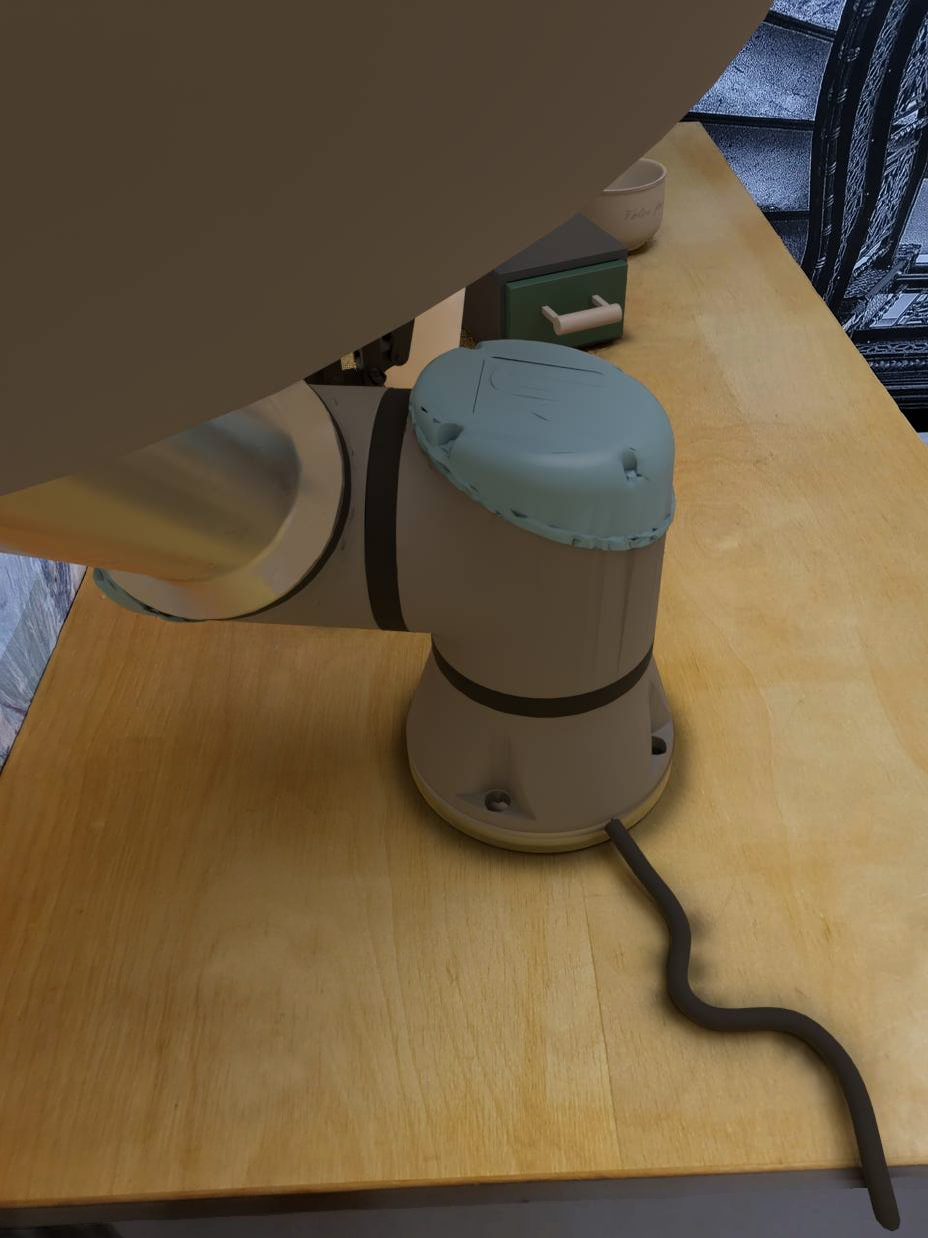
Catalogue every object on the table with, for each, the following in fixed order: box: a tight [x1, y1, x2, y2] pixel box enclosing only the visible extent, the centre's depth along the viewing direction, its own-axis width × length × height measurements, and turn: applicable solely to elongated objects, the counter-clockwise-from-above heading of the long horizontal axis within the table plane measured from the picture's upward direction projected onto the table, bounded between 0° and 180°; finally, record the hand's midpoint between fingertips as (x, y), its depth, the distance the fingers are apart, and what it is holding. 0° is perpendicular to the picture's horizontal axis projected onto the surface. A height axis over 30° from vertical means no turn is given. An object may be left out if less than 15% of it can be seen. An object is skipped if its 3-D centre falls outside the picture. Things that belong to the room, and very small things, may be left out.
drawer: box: [505, 260, 629, 347], centre depth 94 cm, size 17×12×7 cm
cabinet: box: [461, 213, 629, 350], centre depth 97 cm, size 14×13×9 cm
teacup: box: [578, 157, 668, 252], centre depth 112 cm, size 14×11×8 cm
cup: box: [383, 288, 465, 389], centre depth 88 cm, size 9×9×12 cm
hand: (359, 465), depth 68 cm, fingers closed
